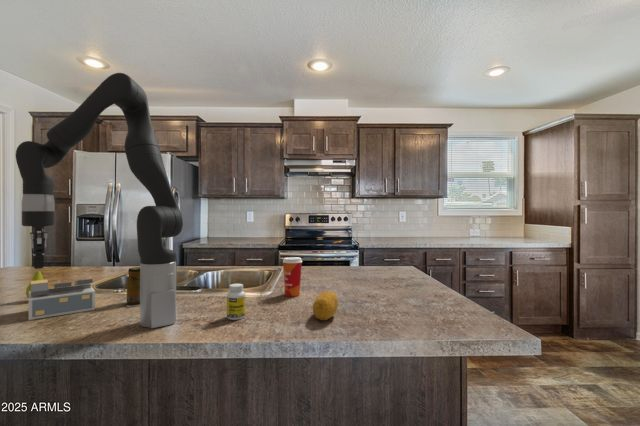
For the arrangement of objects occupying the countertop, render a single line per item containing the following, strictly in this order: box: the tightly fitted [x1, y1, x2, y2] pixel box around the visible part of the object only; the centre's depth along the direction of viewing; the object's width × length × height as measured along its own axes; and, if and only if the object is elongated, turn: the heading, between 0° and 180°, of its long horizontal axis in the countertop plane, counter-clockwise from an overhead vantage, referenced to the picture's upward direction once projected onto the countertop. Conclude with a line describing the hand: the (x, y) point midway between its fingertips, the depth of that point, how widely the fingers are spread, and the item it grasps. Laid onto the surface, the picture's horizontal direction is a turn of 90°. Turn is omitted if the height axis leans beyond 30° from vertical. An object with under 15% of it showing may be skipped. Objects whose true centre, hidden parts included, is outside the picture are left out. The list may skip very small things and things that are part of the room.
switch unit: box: [28, 283, 96, 321], centre depth 105 cm, size 12×16×7 cm
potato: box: [312, 290, 339, 321], centre depth 100 cm, size 7×14×7 cm, turn 167°
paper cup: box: [282, 256, 303, 297], centre depth 127 cm, size 8×8×14 cm
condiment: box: [122, 266, 140, 308], centre depth 114 cm, size 7×8×12 cm
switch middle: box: [52, 281, 72, 288], centre depth 105 cm, size 10×4×1 cm, turn 41°
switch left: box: [30, 278, 50, 296], centre depth 102 cm, size 10×4×1 cm, turn 41°
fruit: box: [25, 268, 44, 299], centre depth 116 cm, size 6×6×12 cm
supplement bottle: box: [226, 283, 246, 321], centre depth 99 cm, size 5×5×10 cm
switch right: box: [73, 278, 94, 286], centre depth 109 cm, size 10×4×1 cm, turn 41°
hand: (38, 268), depth 99 cm, fingers closed
